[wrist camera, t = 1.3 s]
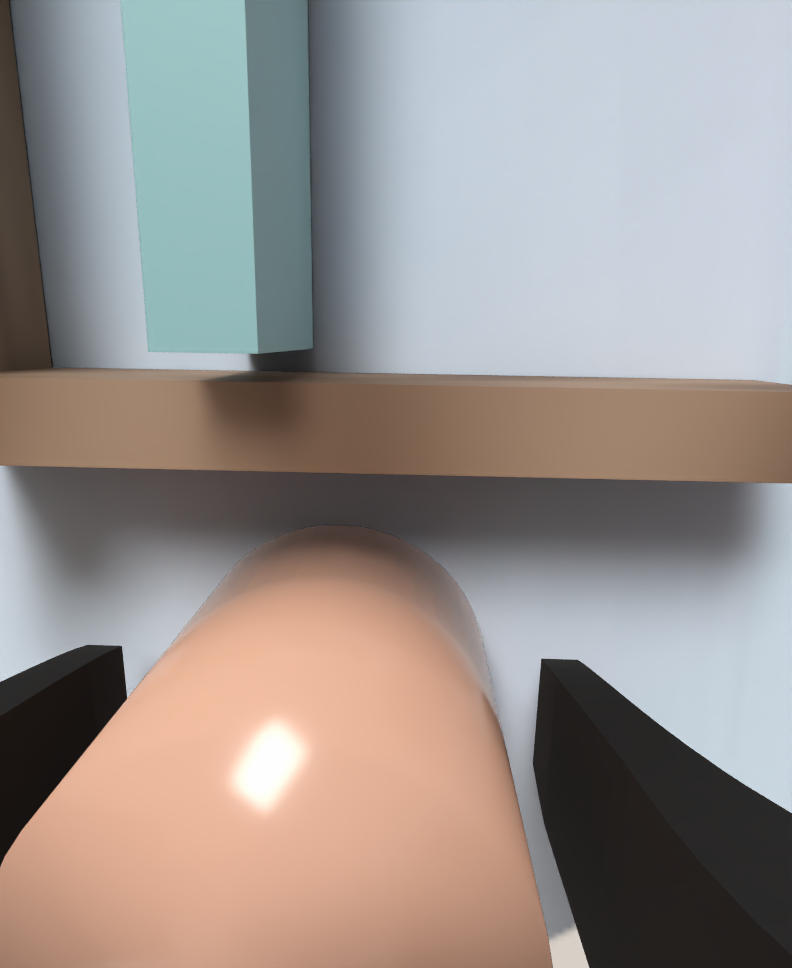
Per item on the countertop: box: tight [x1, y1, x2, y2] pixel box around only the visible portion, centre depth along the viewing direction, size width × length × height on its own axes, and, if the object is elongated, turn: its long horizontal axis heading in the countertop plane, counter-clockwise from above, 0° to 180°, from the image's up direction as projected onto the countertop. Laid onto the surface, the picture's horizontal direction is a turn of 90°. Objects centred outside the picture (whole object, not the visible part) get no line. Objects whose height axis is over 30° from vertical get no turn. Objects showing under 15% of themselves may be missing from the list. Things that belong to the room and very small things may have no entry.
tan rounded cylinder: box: [0, 525, 553, 968], centre depth 9 cm, size 6×6×6 cm
